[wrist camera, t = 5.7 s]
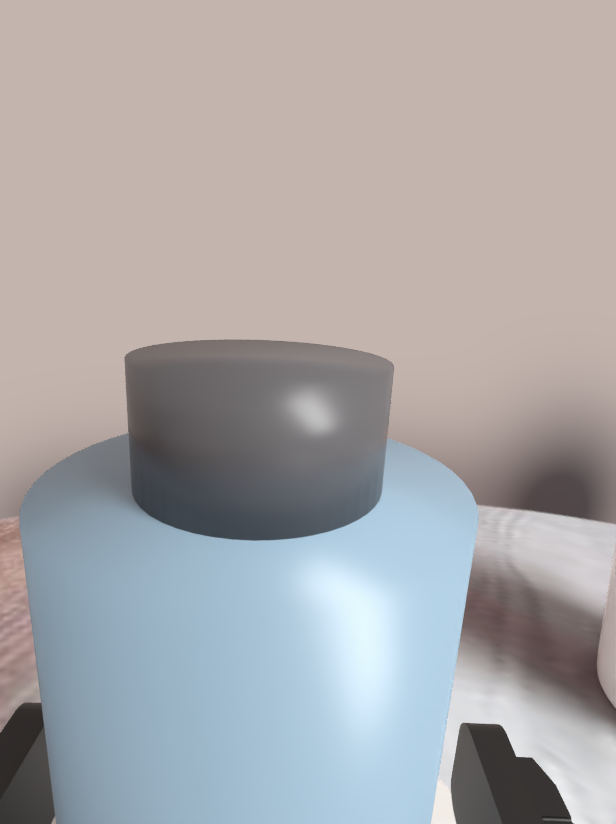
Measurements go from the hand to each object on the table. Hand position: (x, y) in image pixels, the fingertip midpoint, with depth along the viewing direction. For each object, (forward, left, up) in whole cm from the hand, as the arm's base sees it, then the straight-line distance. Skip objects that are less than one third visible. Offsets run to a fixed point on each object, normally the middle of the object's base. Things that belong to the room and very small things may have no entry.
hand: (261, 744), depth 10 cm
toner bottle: (+1, -1, -9) cm, 10 cm away
